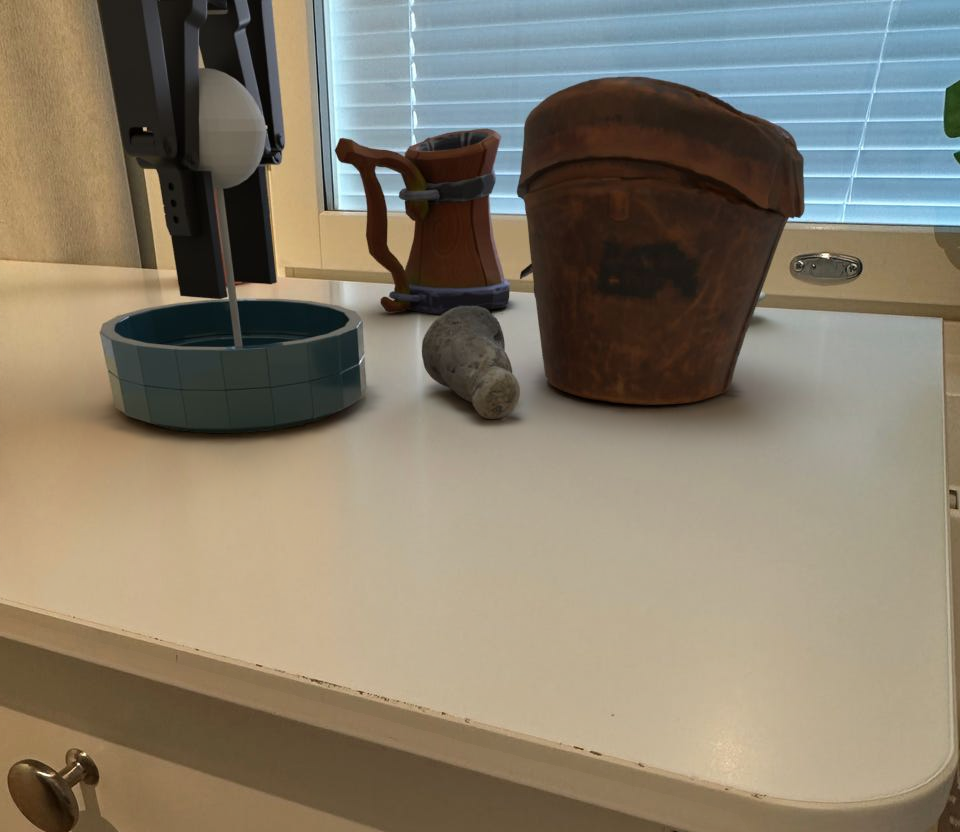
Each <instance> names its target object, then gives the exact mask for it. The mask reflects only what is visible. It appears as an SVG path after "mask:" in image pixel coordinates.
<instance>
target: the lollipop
mask: <svg viewBox="0 0 960 832" xmlns="http://www.w3.org/2000/svg"><path fill="white" fill-rule="evenodd" d="M266 129H267V126H265V121H264V118H263V116H262V114H261V111H260V109H259V107H258V106H257V104H256V102H255V100H254V99H253V97H252V96H251V94H250V93H249V92H248V91H247V89H246V88H245V87H244V86H243V85H242V84H241V83H239V82H238V81H237V80H236V79H234V78H233V77H231V76H229V75H228V74H226V73H224V72H221V71H218V70H215V69H208V68H205V67H199V166H198V169H196V170H193V171H211V175H212V182H213V189H215V195H216V203H217V210H218V218H219V226H220V234H221V241H222V249H223V257H224V265H225V272H226V280H227V285H226V289H227V297H228V299H229V303H230V311H231V319H232V327H233V334H234V342H235V346H242V338H241V330H240V322H239V314H238V306H237V299H238V298H237V291H236V284H235V282H234V274H233V266H232V258H231V250H230V242H229V234H228V226H227V218H226V210H225V202H224V194H223V189H224V188H230V187H233V186H236V185H239V184H240V183H242V182H243V181H245V180H246V179H248V178H249V177H250V176H251V175H252V174H253V173H254V171H255V170H256V168H257V166H258V165H259V163H260V161H261V158H262V155H263V152H264V146H265V139H266ZM176 140H177V141H178V138H177V137H176Z"/></svg>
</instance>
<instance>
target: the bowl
mask: <svg viewBox="0 0 960 832" xmlns="http://www.w3.org/2000/svg"><path fill="white" fill-rule="evenodd" d="M237 306H238V314H239V322H240V330H241V338H242V346H235V342H234V334H233V327H232V319H231V311H230V303H229V298H222V299H205V300H196V301H185V302H184V301H183V302H176V303H169V304H163V305H157V306H152V307H151V306H150V307H146V308H141V309H138V310H133V311H129V312H126V313H123V314H118V315H116V316H115V317H113V318H111V319H109V320H107V321H105V322H103V323H102V324H101V327H100V330H99V336H100V341H101V345H102V350H103V351H102V352H103V356H104V360H105V366H106V369H107V375H108V380H109V384H110V390H111V395H112V399H113V404H114V407H116V408H117V409H118V410H119V411H121V412H122V413H123V414H124V415H125V416H127V417H129V418H133V419H136V420H140V421H141V422H142V421H143V422H146V423H149V424H150V425H154V426H156V427H157V426H158V427H161V428H163V429H169V430H175V431H181V432H189V433H202V434H245V433H259V432H266V431H274V430H282V429H287V428H293V427H298V426H302V425H306V424H311V423H313V422H317V421H320V420H323V419H325V418H327V417H330V416H332V415H334V414H336V413H338V412H340V411H342V410H345V409H346V408H348V407H350V406H352V405H353V404H355V403H357V402H358V401H360V400H362V398H363V396H364V394H365V392H366V390H367V375H366V357H365V356H366V355H365V341H364V340H365V339H364V338H365V337H364V322H363V321H364V320H363V318H362V317H361V316H360V315H359V314H358V313H357V312H356V311H355V310H352V309H349V308H346V307H343V306H340V305H337V304H331V303H325V302H318V301H313V300H302V299H290V298H289V299H287V298H253V297H252V298H251V297H250V298H249V297H248V298H247V297H246V298H237Z"/></svg>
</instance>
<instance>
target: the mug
mask: <svg viewBox="0 0 960 832" xmlns="http://www.w3.org/2000/svg"><path fill="white" fill-rule="evenodd" d="M501 140H502V135H501V134H500V133H498V131H496V130H494V129H492V128H491V129H490V128H475V129H471V130H458V131H451V132H445V133H442V134H439V135H435V136H432V137H427V138H425V139H424V140H423V141H421V142H417V143H414V144H412V145H409V146H408V148H407V149H406V151H405V152H404V155H402V154H400V153H398V152H396V151H393V150H390V149H380V148H372V147H368V146H365V145H363V144H359V142H358V143H357V142H356V141H354V140H353V139H350V138H346V137H341V138H339V140H338V142H337V144H336V146H335V149H334V152H335V155H336V158H337V160H338V161H339V162H340V163H341V164H346V165H347V164H348V165H351V166H353V168H355V169H356V170H357V171H358V173H359V176H360V178H361V183H362V186H363V190H364V195H365V202H366V226H365V227H366V228H365V238H366V239H365V240H366V243H367V247H368V248H367V249H368V253H369V255H370V256H371V257H372V258H373V259H374V260H375V261H376V263H378V264H379V265H381V267H383V268H384V269H385V270H387V271H388V272H389V273H390V274H391V277H392V280H393V283H394V291H393V290H392V291H390V292H389V293H388V294H389V295H388V296H382V297H381V298H380V305H381V307H382V308H383V310H384V311H385V312H387V313H400V312H403V311H406V310H408V311H409V310H410V311H412V312H417V313H418V312H419V313H427V314H434V315H442V314H444V313H445V312H447V311H449V310H450V309H453V308H456V307H460V306H478V307H483V308H485V309H487V310H488V311H489V310H494V309H495V310H496V309H501V308H506V307H507V305H508V304H509V300H510V287H511V286H510V285H511V284H510V282H509V280H507V279H506V278H505V274H504V271H503V270H504V269H503V267H502V263H501V260H500V256H499V253H498V249H497V245H496V240H495V237H494V229H493V222H492V215H491V203H490V195H491V194H492V192H493V190H494V187H495V185H496V180H497V176H496V172H495V168H494V167H495V162H496V158H497V154H498V151H499V147H500V145H501V144H500V143H501ZM377 167H378V168H386V169H388V170H392V171H394V172H396V173H398V174H400V175H401V178H402V181H403V183H404V187H405V188H404V187H403V188H401V189H400V191H399V192H398V198H399V199H400V200H403V201H404V210H405V215H406V216H407V217H408V218H409V219H410V220H411V221H413V222H414V231H413V239H412V243H411V248H410V251H409V255H408V259H407V262H406V265H405V268H404V266H403V264H402V263H401V262H400V261H399V259H398V258H397V257H396V256H395V254H393V253H392V252H391V251H390V248H389V245H388V227H389V226H388V225H389V224H388V223H389V222H388V221H389V220H388V207H387V201H386V197H385V193H384V191H383V188H382V186H381V183H380V181H379V179H378V177H377V173H376V169H377Z"/></svg>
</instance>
